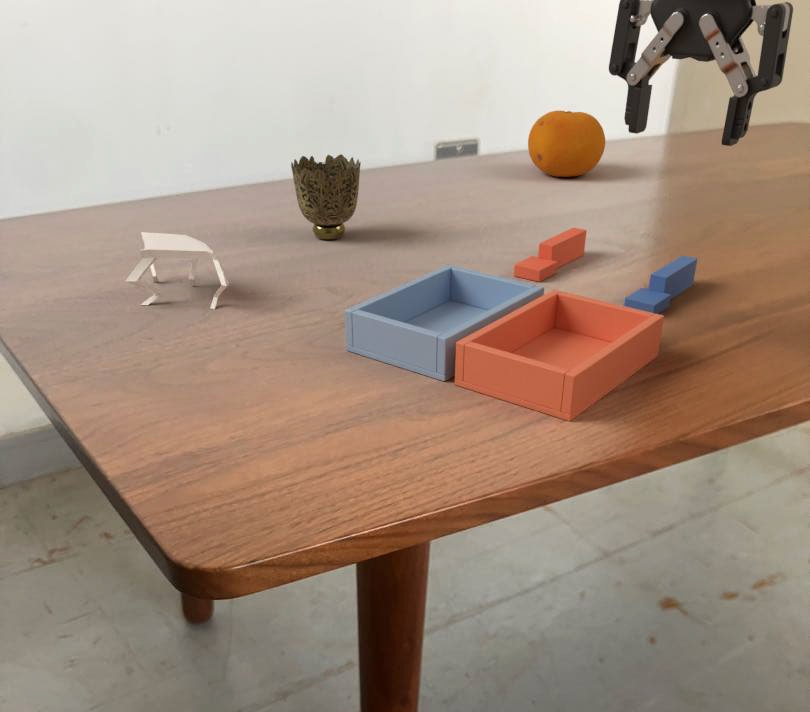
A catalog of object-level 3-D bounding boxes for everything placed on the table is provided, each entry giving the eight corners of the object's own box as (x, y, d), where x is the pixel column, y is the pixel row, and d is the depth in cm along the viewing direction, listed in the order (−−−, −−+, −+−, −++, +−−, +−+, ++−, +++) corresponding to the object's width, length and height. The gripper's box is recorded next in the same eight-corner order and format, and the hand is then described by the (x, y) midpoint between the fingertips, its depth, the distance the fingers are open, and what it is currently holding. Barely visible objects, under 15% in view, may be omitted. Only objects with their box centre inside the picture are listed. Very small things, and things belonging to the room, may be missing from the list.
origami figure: (103, 303, 85) (93, 250, 83) (156, 275, 92) (148, 225, 89) (214, 321, 82) (207, 266, 79) (261, 291, 88) (256, 239, 85)
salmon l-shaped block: (565, 250, 98) (567, 226, 97) (590, 256, 97) (592, 231, 95) (513, 276, 92) (515, 250, 90) (539, 282, 90) (541, 255, 89)
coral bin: (657, 356, 75) (664, 315, 73) (569, 421, 66) (575, 376, 64) (550, 328, 80) (554, 289, 78) (454, 384, 71) (455, 341, 69)
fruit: (603, 167, 130) (610, 105, 126) (599, 184, 122) (606, 119, 117) (530, 163, 132) (534, 102, 128) (520, 180, 124) (525, 116, 119)
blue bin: (541, 325, 81) (544, 286, 79) (444, 381, 71) (445, 339, 69) (447, 301, 86) (448, 264, 84) (345, 350, 76) (344, 309, 74)
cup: (358, 225, 106) (355, 152, 102) (367, 244, 100) (364, 167, 96) (293, 229, 105) (288, 154, 101) (298, 248, 99) (293, 170, 95)
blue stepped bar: (670, 280, 90) (675, 253, 89) (699, 286, 89) (704, 259, 87) (622, 310, 84) (626, 282, 82) (653, 317, 82) (657, 289, 81)
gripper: (828, -89, 69) (778, 141, 78) (653, -90, 76) (626, 121, 85) (795, -89, 64) (745, 157, 73) (611, -90, 71) (587, 134, 81)
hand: (681, 137), depth 79 cm, fingers open, 8 cm apart
